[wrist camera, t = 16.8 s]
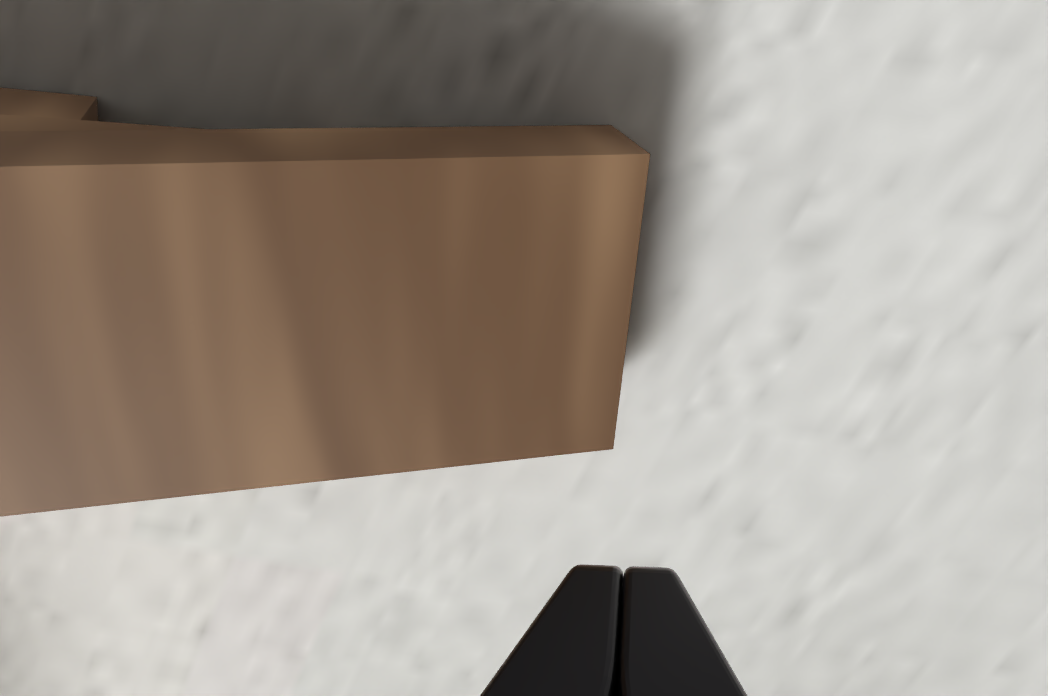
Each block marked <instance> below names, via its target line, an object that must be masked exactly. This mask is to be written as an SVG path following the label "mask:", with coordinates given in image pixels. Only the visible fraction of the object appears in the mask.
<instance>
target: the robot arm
mask: <svg viewBox="0 0 1048 696" xmlns="http://www.w3.org/2000/svg"><path fill="white" fill-rule="evenodd" d="M480 696H747V694H746V693H745V691H744V689H743V687H742V686H741V684H740V682H739V680H738V679H737V677H736V675H735V674H734V672H733V670H732V668H731V667H730V665H729V663H728V661H727V660H726V658H725V656H724V654H723V653H722V651H721V649H720V647H719V646H718V644H717V642H716V641H715V639H714V637H713V635H712V634H711V632H710V630H709V628H708V627H707V625H706V623H705V621H704V620H703V618H702V616H701V615H700V613H699V611H698V609H697V608H696V606H695V604H694V602H693V601H692V599H691V597H690V595H689V594H688V592H687V590H686V589H685V587H684V585H683V583H682V582H681V580H680V578H679V577H678V575H677V574H676V572H675V571H673V570H672V569H670V568H661V567H634V566H633V567H629V568H627V569H626V571H625V572H624V577H623V572H622V571H621V569H620V568H619V567H617V566H605V565H577V566H575V567H573V568H572V569H571V570H570V571H569V573H568V574H567V575H566V577H565V578H564V579H563V581H562V582H561V584H560V585H559V586H558V588H557V589H556V591H555V592H554V593H553V595H552V596H551V598H550V599H549V600H548V602H547V603H546V605H545V606H544V607H543V609H542V610H541V611H540V613H539V614H538V616H537V617H536V618H535V620H534V621H533V623H532V624H531V625H530V627H529V628H528V630H527V631H526V632H525V634H524V635H523V637H522V638H521V639H520V641H519V642H518V644H517V645H516V646H515V648H514V649H513V651H512V652H511V653H510V655H509V656H508V658H507V659H506V660H505V662H504V663H503V664H502V666H501V667H500V669H499V670H498V671H497V673H496V674H495V676H494V677H493V678H492V680H491V681H490V683H489V684H488V685H487V687H486V688H485V690H484V691H483V692H482V694H481V695H480Z"/></svg>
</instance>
